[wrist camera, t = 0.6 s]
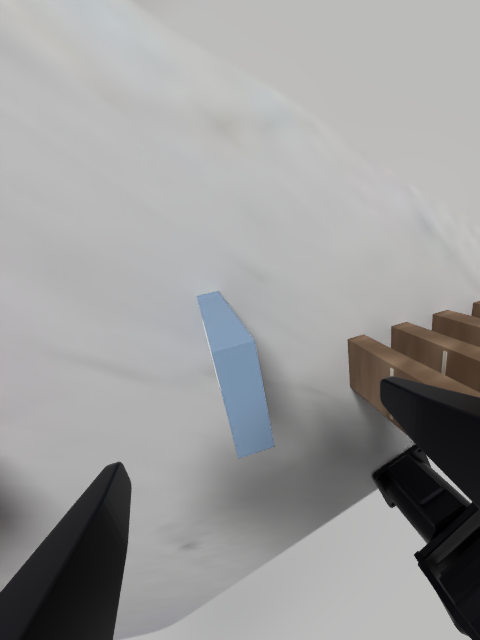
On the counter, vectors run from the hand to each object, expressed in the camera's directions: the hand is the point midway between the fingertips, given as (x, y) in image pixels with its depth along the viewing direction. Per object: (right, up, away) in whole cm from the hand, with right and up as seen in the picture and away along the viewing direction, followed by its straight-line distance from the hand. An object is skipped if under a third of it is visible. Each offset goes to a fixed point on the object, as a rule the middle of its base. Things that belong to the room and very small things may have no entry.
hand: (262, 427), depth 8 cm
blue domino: (-3, +3, +11) cm, 12 cm away
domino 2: (+10, 0, +15) cm, 18 cm away
